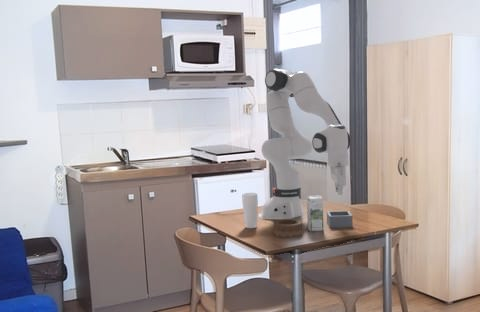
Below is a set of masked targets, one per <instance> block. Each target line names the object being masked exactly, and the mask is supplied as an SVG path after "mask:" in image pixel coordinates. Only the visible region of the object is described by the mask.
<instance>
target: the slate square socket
mask: <svg viewBox="0 0 480 312" xmlns="http://www.w3.org/2000/svg"><path fill="white" fill-rule="evenodd" d="M326 223H327V224H328V227H329V228H332V229H334V228H335V229H336V228H337V229H338V228H353V227H354V226H353V225H354V224H353V223H354V222H353V215H352V212H350V210H331V211H329V210H328V211H326Z"/></svg>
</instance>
